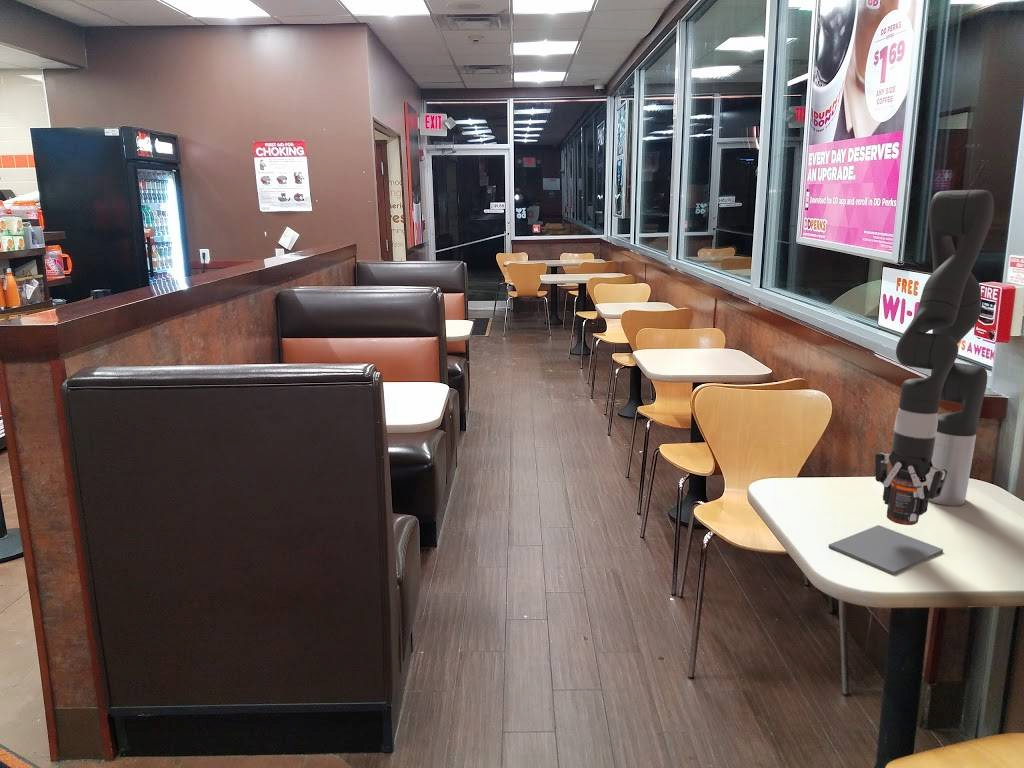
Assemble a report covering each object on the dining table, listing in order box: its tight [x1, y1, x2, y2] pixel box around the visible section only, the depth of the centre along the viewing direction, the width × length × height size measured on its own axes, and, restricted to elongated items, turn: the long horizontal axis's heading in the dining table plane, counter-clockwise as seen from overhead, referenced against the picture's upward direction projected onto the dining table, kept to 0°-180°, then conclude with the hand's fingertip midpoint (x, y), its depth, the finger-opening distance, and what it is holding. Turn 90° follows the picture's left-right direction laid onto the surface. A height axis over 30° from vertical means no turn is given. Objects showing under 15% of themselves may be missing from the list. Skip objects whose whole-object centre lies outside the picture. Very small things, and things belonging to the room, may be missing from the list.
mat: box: [828, 524, 944, 576], centre depth 156 cm, size 18×14×1 cm
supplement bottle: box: [886, 469, 921, 526], centre depth 157 cm, size 6×6×11 cm
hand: (903, 508), depth 157 cm, fingers closed on supplement bottle, 6 cm apart
